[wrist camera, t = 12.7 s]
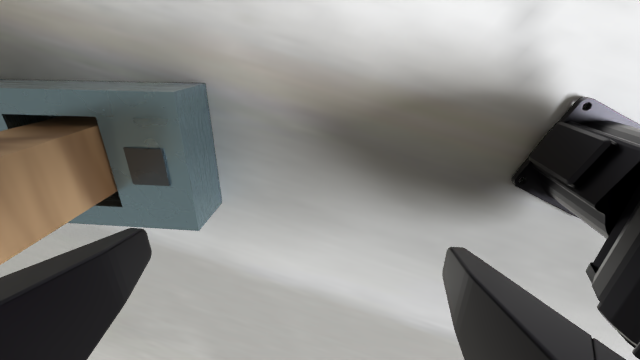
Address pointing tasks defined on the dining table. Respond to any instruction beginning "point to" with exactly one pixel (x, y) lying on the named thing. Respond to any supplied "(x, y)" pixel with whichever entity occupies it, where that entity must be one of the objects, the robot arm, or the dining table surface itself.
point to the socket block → (135, 145)
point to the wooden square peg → (49, 178)
